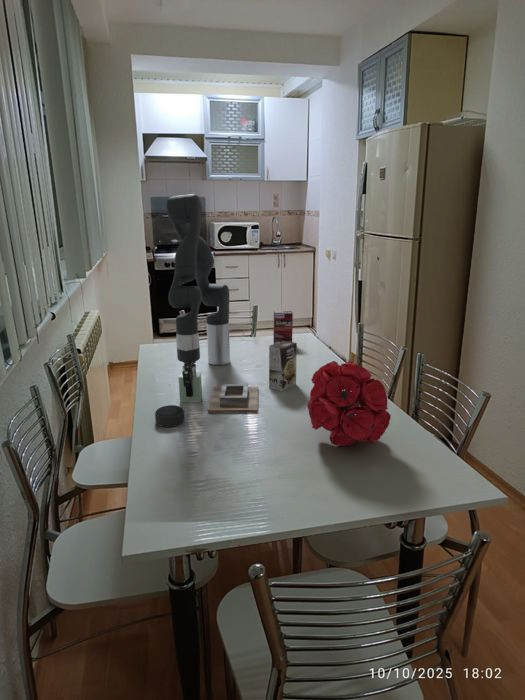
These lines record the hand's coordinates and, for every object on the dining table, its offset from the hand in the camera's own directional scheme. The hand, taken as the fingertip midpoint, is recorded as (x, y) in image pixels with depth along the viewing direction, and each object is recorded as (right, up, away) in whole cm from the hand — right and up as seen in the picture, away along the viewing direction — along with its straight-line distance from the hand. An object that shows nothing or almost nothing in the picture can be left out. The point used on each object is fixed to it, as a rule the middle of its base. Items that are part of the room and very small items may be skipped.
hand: (190, 393), depth 163 cm
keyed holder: (+15, -3, 0) cm, 15 cm away
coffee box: (+32, +1, +12) cm, 34 cm away
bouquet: (+48, -10, -26) cm, 55 cm away
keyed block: (0, -2, +1) cm, 3 cm away
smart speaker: (-4, -8, -15) cm, 18 cm away
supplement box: (+34, +17, +63) cm, 73 cm away
